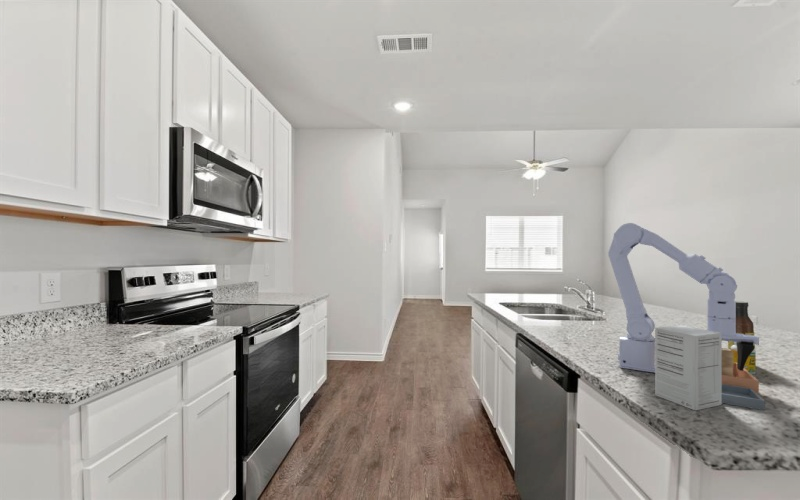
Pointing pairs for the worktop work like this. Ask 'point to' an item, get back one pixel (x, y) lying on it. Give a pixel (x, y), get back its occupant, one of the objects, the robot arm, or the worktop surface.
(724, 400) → the slate tray
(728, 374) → the maple peg
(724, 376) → the peach storage tray
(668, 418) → the worktop surface
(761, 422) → the worktop surface
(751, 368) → the supplement bottle
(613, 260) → the robot arm
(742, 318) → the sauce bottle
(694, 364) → the supplement box
